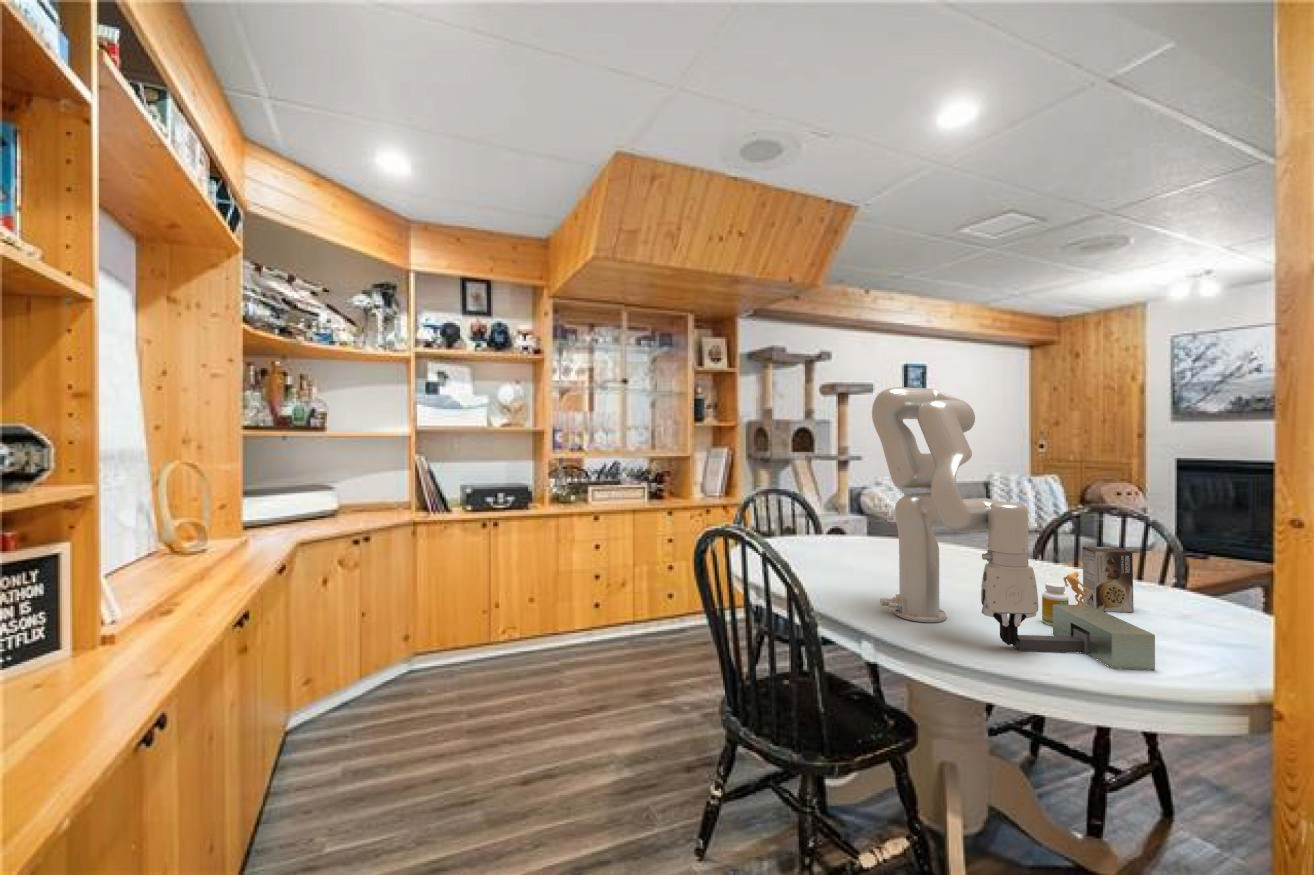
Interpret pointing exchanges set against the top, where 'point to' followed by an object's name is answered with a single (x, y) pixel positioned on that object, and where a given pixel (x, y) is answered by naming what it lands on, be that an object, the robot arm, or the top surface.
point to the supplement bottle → (1052, 600)
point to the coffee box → (1108, 578)
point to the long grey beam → (1055, 642)
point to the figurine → (1076, 587)
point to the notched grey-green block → (1107, 636)
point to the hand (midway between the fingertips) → (1008, 642)
